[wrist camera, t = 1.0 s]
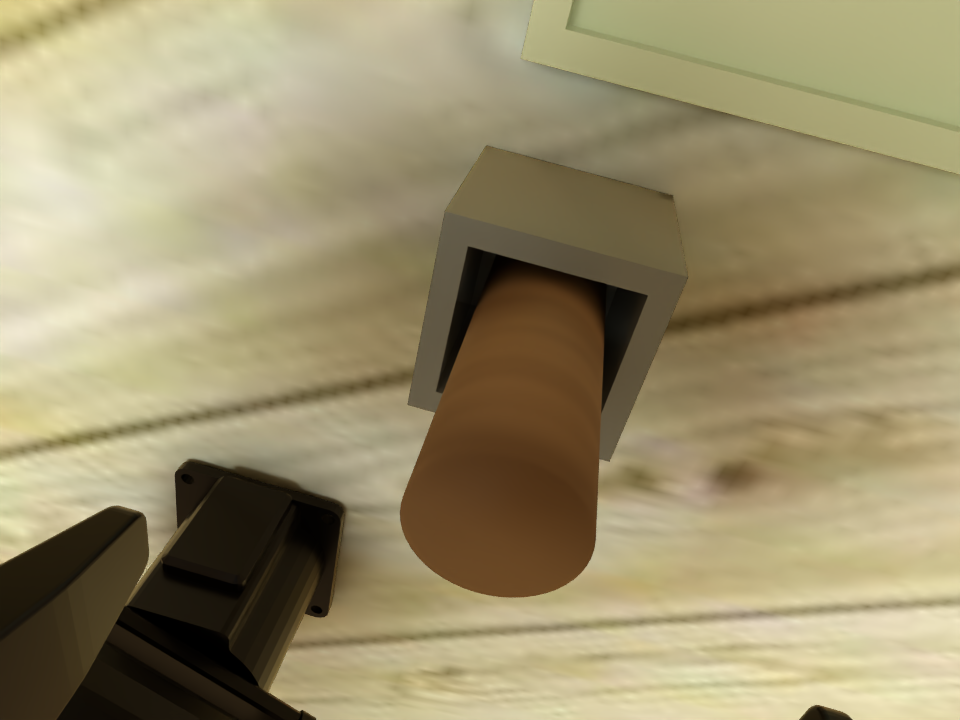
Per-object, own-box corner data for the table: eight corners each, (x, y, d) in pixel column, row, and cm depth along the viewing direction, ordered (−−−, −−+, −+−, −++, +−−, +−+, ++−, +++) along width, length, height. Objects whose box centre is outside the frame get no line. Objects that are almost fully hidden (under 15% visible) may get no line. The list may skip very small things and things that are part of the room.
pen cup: (612, 353, 21) (609, 461, 16) (450, 308, 21) (407, 404, 17) (672, 195, 18) (688, 277, 14) (485, 145, 18) (444, 211, 14)
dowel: (588, 324, 20) (563, 617, 11) (487, 296, 20) (387, 566, 11) (622, 227, 18) (622, 487, 10) (511, 197, 18) (416, 429, 10)
